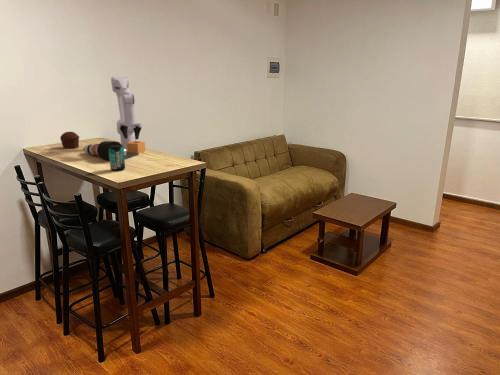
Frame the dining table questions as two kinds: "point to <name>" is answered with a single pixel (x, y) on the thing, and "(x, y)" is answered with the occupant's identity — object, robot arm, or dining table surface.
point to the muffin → (70, 140)
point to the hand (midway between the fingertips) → (131, 138)
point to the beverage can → (116, 158)
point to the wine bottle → (100, 149)
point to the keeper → (129, 154)
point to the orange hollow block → (136, 147)
